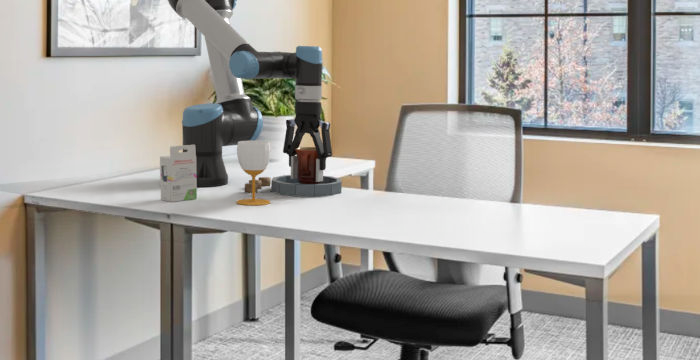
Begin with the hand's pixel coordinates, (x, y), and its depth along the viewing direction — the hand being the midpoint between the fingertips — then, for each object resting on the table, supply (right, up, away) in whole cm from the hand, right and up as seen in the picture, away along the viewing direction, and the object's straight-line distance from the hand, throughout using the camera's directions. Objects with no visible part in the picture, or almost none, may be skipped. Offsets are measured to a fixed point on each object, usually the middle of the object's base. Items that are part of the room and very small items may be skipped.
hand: (306, 179), depth 255 cm
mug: (+1, -2, 0) cm, 2 cm away
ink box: (-33, -5, -19) cm, 39 cm away
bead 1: (-16, -4, -4) cm, 17 cm away
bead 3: (-13, -2, +8) cm, 15 cm away
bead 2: (-15, -3, +2) cm, 16 cm away
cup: (-13, -6, -21) cm, 26 cm away
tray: (0, -3, 0) cm, 3 cm away
